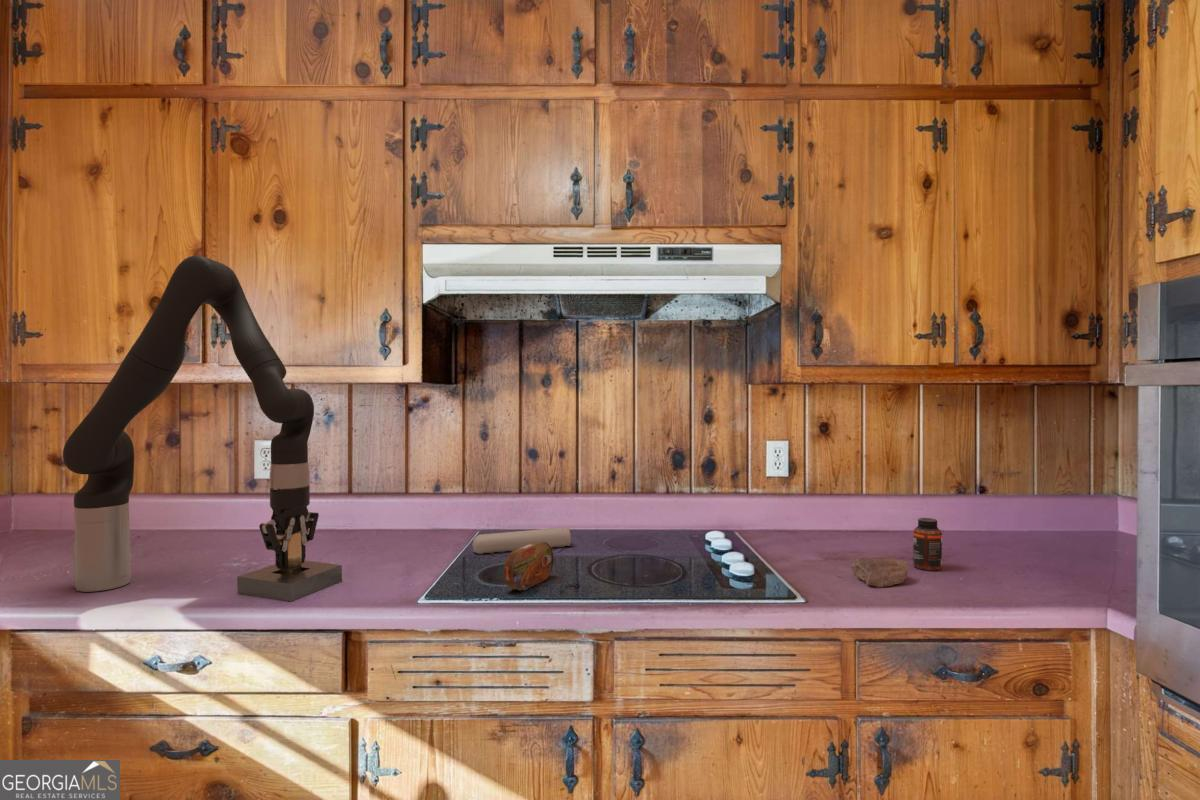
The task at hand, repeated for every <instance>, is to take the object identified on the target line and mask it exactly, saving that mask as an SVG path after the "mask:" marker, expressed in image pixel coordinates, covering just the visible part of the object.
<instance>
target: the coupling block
mask: <svg viewBox="0 0 1200 800" xmlns="http://www.w3.org/2000/svg"><path fill="white" fill-rule="evenodd" d="M236 579H237V582H236V583H237V588H236V589H237V594H239V595H244V596H252V597H259V598H266V599H271V600H278V601H286V602H293V601H295V600H298V599H300V598H302V597H306V596H308V595H311V594H313V593H316V592H318V591H321V590H323V589H326V588H329V587H331V586H333V585H336V584H338V583H341V582H343V565H342V564H337V563H336V564H335V563H329V562H320V561H310V560H306V559H305V560H304V563H302V572H299V573H296V574H294V575H284V574H281V569H278V568H277V567H276V563H275V564H272V565H269V566H265V567H263V568H259V569H256V570H253V571H250V572H247V573H244V574H240V575H237V576H236Z"/></svg>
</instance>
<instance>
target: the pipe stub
mask: <svg viewBox="0 0 1200 800" xmlns="http://www.w3.org/2000/svg"><path fill="white" fill-rule="evenodd" d="M280 535H281V536H284V535H285V534H280ZM281 544H282V539H281V543H280V545H281ZM286 551H288V568H287V569H284V570H283V569H281V574H284V575H294V574H296V573H299V572H302V550H301V532H300V531H299V532H293V533H292V534H291V539H290V540H289V541H288V546H287V550H286Z"/></svg>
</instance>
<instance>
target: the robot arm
mask: <svg viewBox="0 0 1200 800" xmlns="http://www.w3.org/2000/svg"><path fill="white" fill-rule="evenodd" d="M203 304H206V305H209V306H211V307H212V308H213V310H215V312H216V313H217V314H218V315H219V316H220V317H221V320H223V322H224V324H225V325H226V327H227V330H228V333H229V336H230V342H231V345H232V349H233V353H234V355H235V357H236V359H237V361H238V363H239V364H240V366H241V368H242V369H243V370H244V373H246V375H247V377H248V379H249V380H250V381H251V383H252V385H253V390H254V393H255V396H256V399H257V403H258V405H259V407H260V409H261V411H262V413H263V415H265V416H266V417H267V418H268V419H269V420H270V421H272V423H277V424H281V427H280V431H279V433H278V434H277V435H275V436H273V437H272V438H271V441H270V469H269V506H270V508H271V510H272V515H271V518H270V520H269V521H267V522H266V523H260V524H259V525H258V527H259V530H260V533H261V537H262V539H263V542H264V545H265V549H266V551H267V550H268V551H274V553H275V564H276V567H277V568H278V569H283V570H284V569H287V568H288V551H286V550H287V546H288V541H289V540H290V539H291V534H292V533H293V532H299V531H300V532H301V550H302V563H304V560H305V561H306V556H307V555H306V545H307V544H308V542H310V541H313V540H314V538H315V533H316V528H317V525H318V524H317V523H318V520H319V516H320V515H319V512H310V511H309V509H308V506H309V505H310V502H311V501H310V500H311V497H310V496H311V494H310V491H311V488H310V467H309V453H308V452H309V448H308V442H309V437H310V435H311V431H312V426H313V422H314V416H315V415H314V414H315V406H314V405H315V404H314V401H313V398H312V396H311V395H310V394H309V392H307V391H306V390H304V389H301V388H288V387H287V386H286V384H285V382H284V379H285V377H286V376H287V369H286V366H285V365H284V363H283V362H282V360H281V358H280V357H279V355H278V354H277V352H276V350H275V349H274V347H273V346H272V344H271V343H270V341H269V340H268V338H267V337H266V335H265V333H264V331H263V330H262V328H261V326H260V324H259V322H258V321H257V318H256V317H255V314H254V312H253V310H252V308H251V306H250V303H249V302H248V299H247V298H246V295H245V292H244V290H243V287H242V285H241V282H240V280H239V279H238V277H237V274H236V273H235V271H234V270H233V269H232V268H231V267H229V266H228V265H226V264H224V263H222V262H220V261H217V260H214V259H212V258H208V257H207V256H203V255H192V256H191V255H190V256H188V257H186V258H184V259H183V260H182V261H181V262H180V263H178V265H177V266H176V268H175V269H174V271H173V273H172V275H171V277H170V278H169V280H168V282H167V285H166V288H165V290H164V291H163V293H162V296H161V298H160V299H159V301H158V303H157V306H156V308H155V310H154V311H153V313H152V314H151V316H150V318H149V319H148V321H147V323H146V325H145V326H144V327H143V329H142V331H141V333H140V334H139V336H138V337H137V339H136V340H135V342H134V343H133V344H132V346H131V347H130V349H129V351H128V352H127V354H126V355H125V357H124V359H123V360H122V362H121V363H120V366H119V367H118V369H117V370H116V371H115V372H116V373H115V374H114V375H113V377H111V379H110V382H109V383H108V384H107V386H106V387H105V389H104V390H103V392H102V394H101V395H100V397H99V398H98V400H97V401H96V403H95V404H94V406H93V407H92V408H91V409H90V411H89V412H88V413H87V414H86V416H85V417H84V418H83V419H82V420H81V422H80V423H79V424H78V425H77V426H76V428H75V429H74V430H73V431H72V433H70V435H69V437H68V438H67V439H66V442H65V444H64V447H63V449H62V450H63V451H62V458H63V459H62V460H63V463H64V465H65V466H66V468H67V469H68V470H69V471H71V472H72V473H75V474H78V475H87V480H86V481H85V483H84V484H83V486H82V487H81V488H80V489H79V490H77V492H75V494H74V496H73V513H74V514H73V515H74V517H73V518H74V541H73V543H72V559H73V561H72V563H73V564H72V565H73V587H75V590H76V591H77V592H84V593H85V592H86V593H87V592H88V593H89V592H91V593H92V592H101V591H107V590H113V589H118V588H120V587H123V586H125V585H128V584H129V583H131V540H130V539H131V535H130V532H131V531H130V530H131V529H130V494H131V491H132V489H133V486H134V473H135V472H134V471H135V449H134V448H135V447H134V444H133V441H132V438H131V436H130V435H129V434H128V433H127V432H126V431H124V430H125V429H126V428H127V426H128V425H129V423H130V422H131V421H132V420H133V419H134V418H135V417H136V416H137V415H138V414H140V413H141V412H142V411H143V410H145V409H146V408H147V407H148V406H149V405H150V404H152V403H153V402H154V401H155V400H156V399H157V398H159V396H160V395H162V394H163V392H164V391H165V390H166V389H167V388H168V387H169V385H170V384H171V382H172V381H173V379H174V378H175V377H176V374H177V373H178V371H179V370H180V368H181V367H182V364H183V361H184V358H185V352H186V336H187V331H188V328H189V325H190V323H191V321H192V319H193V318H194V316H195V314H197V312H198V310H199V309H200V308H201V306H202V305H203ZM280 534H285V535H284V536H281V535H280ZM281 539H282V544H281V545H280V543H281Z"/></svg>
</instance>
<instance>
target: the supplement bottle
mask: <svg viewBox="0 0 1200 800" xmlns="http://www.w3.org/2000/svg"><path fill="white" fill-rule="evenodd" d="M912 538H913V543H912V544H913V549H912V550H913V552H912V553H913V556H912V558H913V563H912V564H913V566H914V567H915V568H916V569H919V570H923V571H931V572H932V571H933V572H934V571H939V570H941V569H942V568H943V567H942V566H943V532H942V530H941V529H940V528H939V527H938V519H936V518H930V517H919V518H918V519H917V526H916V527H915V528H914V529H913V537H912Z"/></svg>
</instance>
